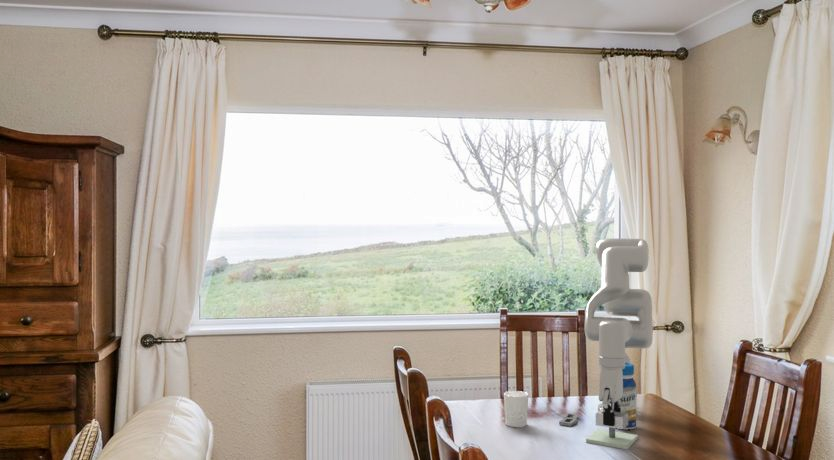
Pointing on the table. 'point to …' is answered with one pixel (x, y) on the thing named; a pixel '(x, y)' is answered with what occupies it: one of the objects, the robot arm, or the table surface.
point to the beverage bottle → (629, 396)
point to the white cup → (516, 408)
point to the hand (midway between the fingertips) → (612, 422)
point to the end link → (619, 418)
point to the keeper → (612, 438)
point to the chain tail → (568, 420)
